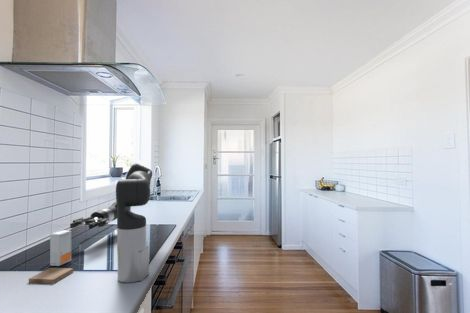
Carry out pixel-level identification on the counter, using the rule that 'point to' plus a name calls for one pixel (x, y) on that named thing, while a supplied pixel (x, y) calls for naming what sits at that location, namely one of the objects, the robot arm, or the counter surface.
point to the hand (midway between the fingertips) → (80, 226)
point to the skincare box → (60, 248)
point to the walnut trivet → (51, 275)
